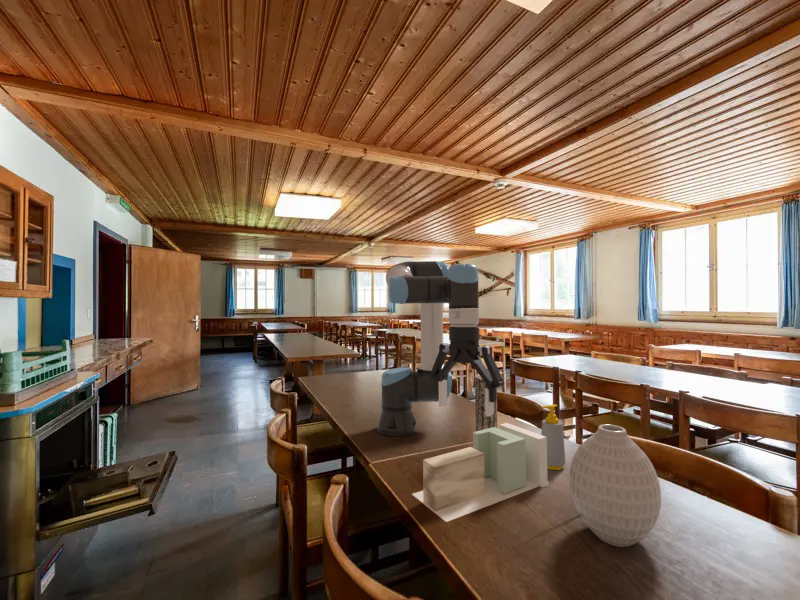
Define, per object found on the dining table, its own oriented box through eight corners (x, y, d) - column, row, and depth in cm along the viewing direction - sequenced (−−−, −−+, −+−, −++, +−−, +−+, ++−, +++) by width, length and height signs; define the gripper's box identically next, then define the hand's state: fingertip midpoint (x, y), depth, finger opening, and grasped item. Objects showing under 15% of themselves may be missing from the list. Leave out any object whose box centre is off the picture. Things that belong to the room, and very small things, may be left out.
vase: (596, 506, 87) (595, 411, 88) (677, 543, 74) (675, 431, 74) (554, 529, 78) (552, 424, 79) (636, 576, 65) (634, 448, 65)
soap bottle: (535, 463, 111) (534, 403, 112) (553, 459, 114) (552, 401, 114) (551, 472, 105) (550, 409, 105) (571, 468, 107) (570, 406, 107)
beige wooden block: (423, 501, 89) (423, 459, 89) (471, 485, 96) (470, 446, 96) (435, 511, 84) (435, 467, 85) (484, 493, 92) (484, 453, 92)
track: (411, 497, 92) (411, 445, 92) (508, 465, 110) (507, 422, 110) (446, 525, 80) (445, 466, 80) (548, 485, 98) (548, 436, 98)
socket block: (473, 476, 101) (472, 432, 101) (494, 469, 105) (494, 427, 105) (503, 493, 91) (503, 445, 91) (525, 485, 95) (525, 438, 96)
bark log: (498, 458, 115) (497, 378, 115) (476, 457, 116) (474, 377, 116) (497, 450, 121) (496, 373, 122) (476, 448, 123) (475, 373, 123)
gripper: (416, 325, 99) (417, 405, 99) (502, 327, 82) (504, 423, 82) (433, 324, 105) (434, 399, 104) (517, 326, 88) (519, 416, 87)
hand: (465, 410), depth 93 cm, fingers open, 13 cm apart
